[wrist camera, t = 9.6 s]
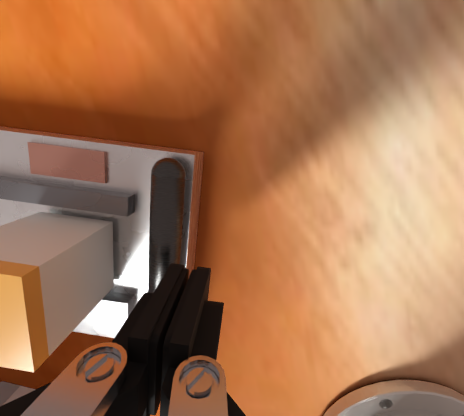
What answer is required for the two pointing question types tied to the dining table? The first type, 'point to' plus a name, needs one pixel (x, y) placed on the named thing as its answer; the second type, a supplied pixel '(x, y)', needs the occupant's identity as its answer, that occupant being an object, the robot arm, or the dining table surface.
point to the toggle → (49, 282)
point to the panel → (109, 205)
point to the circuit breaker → (12, 392)
